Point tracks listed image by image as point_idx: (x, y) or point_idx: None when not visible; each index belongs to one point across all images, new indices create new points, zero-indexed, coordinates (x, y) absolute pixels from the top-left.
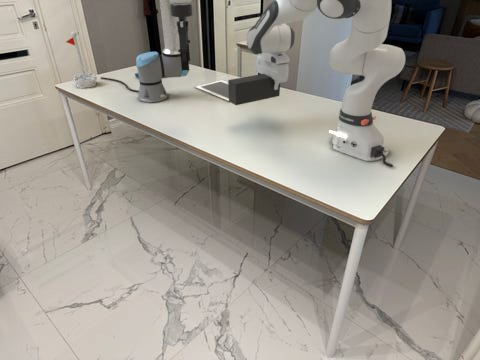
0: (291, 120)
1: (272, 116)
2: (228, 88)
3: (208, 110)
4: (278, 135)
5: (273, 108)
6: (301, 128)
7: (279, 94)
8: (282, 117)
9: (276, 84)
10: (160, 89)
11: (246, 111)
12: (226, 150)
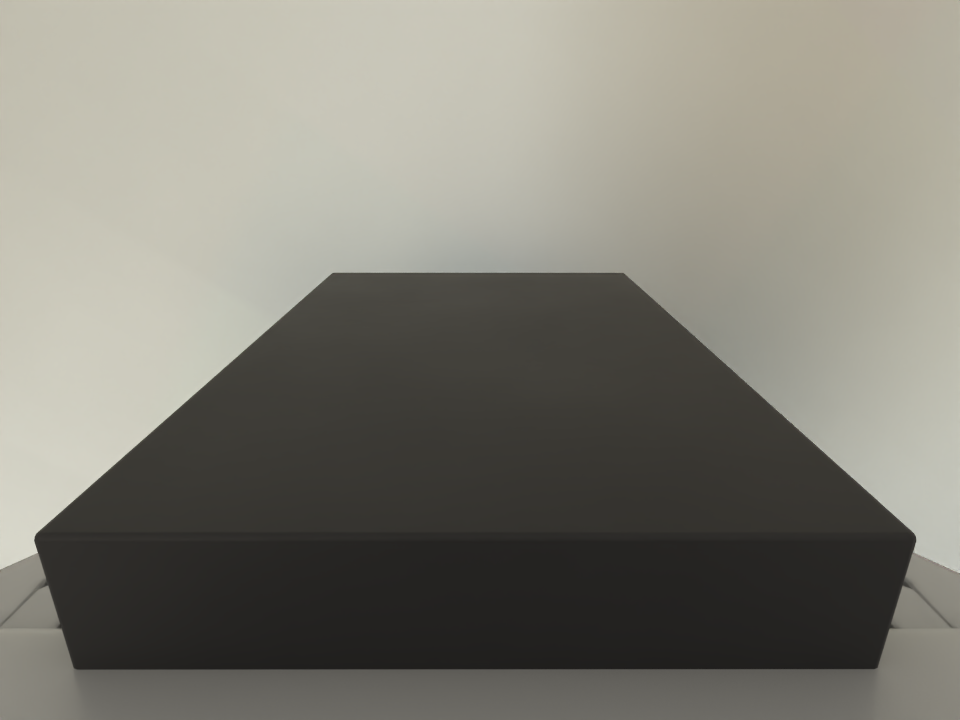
0: (635, 52)
1: (413, 188)
2: None
3: None
4: (827, 411)
5: (178, 6)
6: (878, 100)
7: (632, 283)
8: (499, 96)
9: None
10: None
11: (153, 363)
12: None
